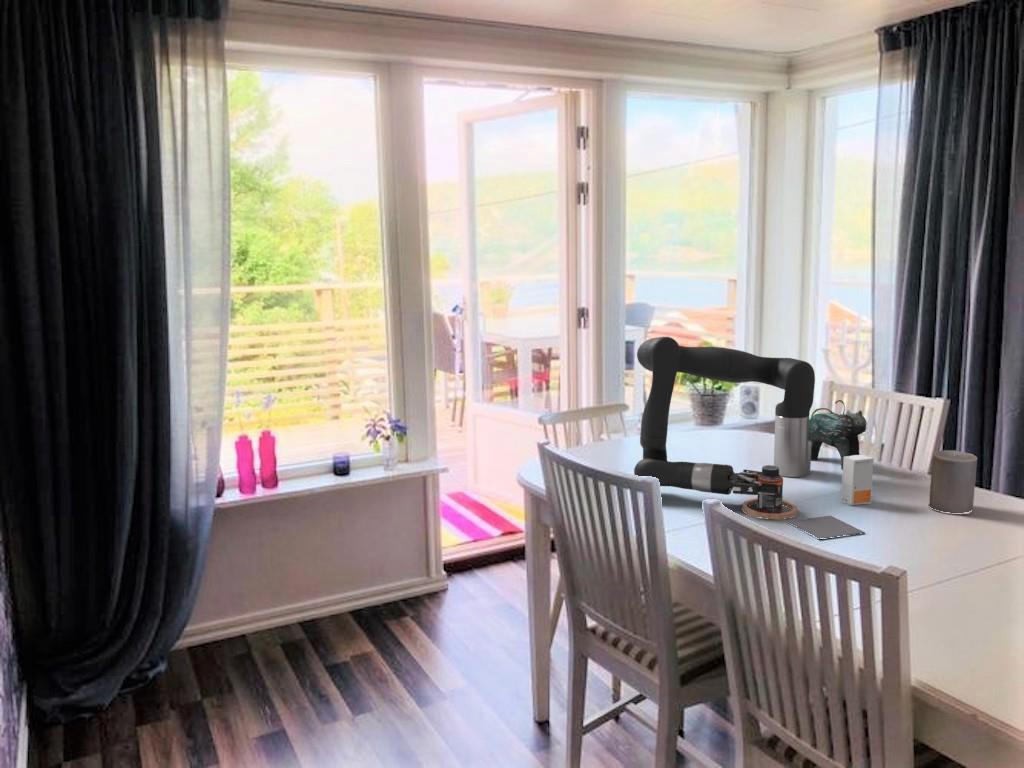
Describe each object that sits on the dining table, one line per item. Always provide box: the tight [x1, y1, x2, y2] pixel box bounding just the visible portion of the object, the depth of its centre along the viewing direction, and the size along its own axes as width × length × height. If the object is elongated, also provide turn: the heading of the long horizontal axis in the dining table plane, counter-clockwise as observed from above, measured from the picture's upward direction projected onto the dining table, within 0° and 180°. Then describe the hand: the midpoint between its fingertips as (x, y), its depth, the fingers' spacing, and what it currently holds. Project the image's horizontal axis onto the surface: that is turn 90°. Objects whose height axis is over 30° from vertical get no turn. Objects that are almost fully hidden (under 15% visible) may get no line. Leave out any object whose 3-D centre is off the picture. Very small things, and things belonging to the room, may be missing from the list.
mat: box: [787, 515, 865, 539], centre depth 186 cm, size 12×12×1 cm
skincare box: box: [840, 454, 875, 506], centre depth 202 cm, size 6×4×12 cm
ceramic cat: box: [808, 399, 867, 471], centre depth 235 cm, size 20×6×20 cm, turn 25°
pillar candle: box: [928, 449, 978, 513], centre depth 195 cm, size 10×10×15 cm
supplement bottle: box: [756, 464, 784, 514], centre depth 198 cm, size 6×6×11 cm
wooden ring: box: [741, 498, 799, 520], centre depth 199 cm, size 13×13×1 cm
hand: (780, 485), depth 196 cm, fingers closed on supplement bottle, 6 cm apart
